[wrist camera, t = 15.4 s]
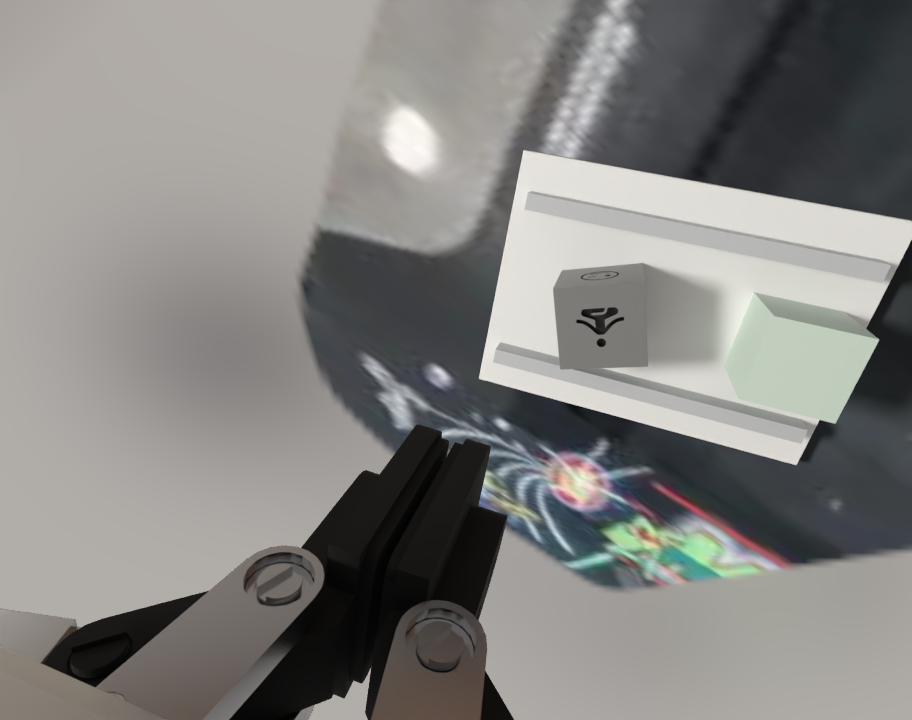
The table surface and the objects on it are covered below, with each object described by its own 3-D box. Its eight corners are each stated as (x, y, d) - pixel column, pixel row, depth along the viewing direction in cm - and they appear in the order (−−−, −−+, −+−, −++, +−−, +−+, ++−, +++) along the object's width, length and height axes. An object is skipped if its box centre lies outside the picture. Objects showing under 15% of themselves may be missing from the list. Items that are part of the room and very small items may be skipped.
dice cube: (642, 262, 34) (645, 281, 29) (644, 338, 35) (647, 366, 31) (561, 270, 35) (552, 288, 31) (567, 342, 37) (560, 369, 33)
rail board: (911, 220, 30) (973, 237, 25) (792, 457, 37) (820, 511, 31) (526, 149, 34) (507, 151, 29) (482, 373, 41) (460, 408, 35)
